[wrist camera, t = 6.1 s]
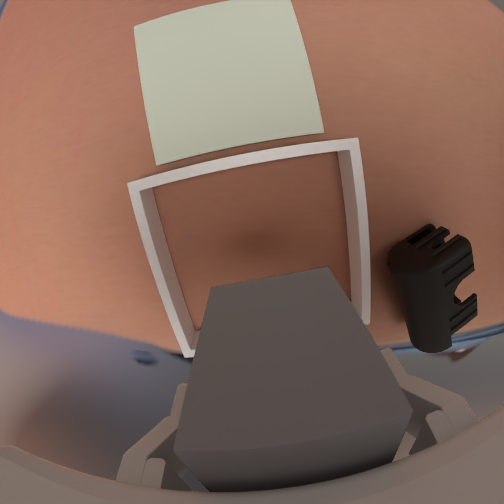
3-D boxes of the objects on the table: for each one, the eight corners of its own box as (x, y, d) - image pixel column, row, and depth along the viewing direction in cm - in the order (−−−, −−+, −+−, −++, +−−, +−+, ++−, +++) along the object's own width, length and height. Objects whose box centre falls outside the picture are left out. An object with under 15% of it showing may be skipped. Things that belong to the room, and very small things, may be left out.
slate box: (327, 266, 10) (413, 410, 4) (333, 376, 12) (371, 500, 6) (211, 287, 11) (172, 450, 4) (243, 391, 13) (241, 521, 6)
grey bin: (344, 139, 21) (358, 137, 18) (359, 307, 26) (370, 323, 23) (141, 179, 21) (127, 183, 18) (189, 338, 26) (184, 357, 24)
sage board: (287, -1, 16) (288, -6, 15) (320, 133, 20) (324, 132, 19) (137, 30, 17) (133, 26, 16) (160, 165, 21) (156, 165, 20)
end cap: (372, 252, 24) (408, 284, 18) (429, 217, 23) (474, 237, 17) (398, 326, 27) (426, 365, 21) (446, 294, 26) (481, 324, 20)
